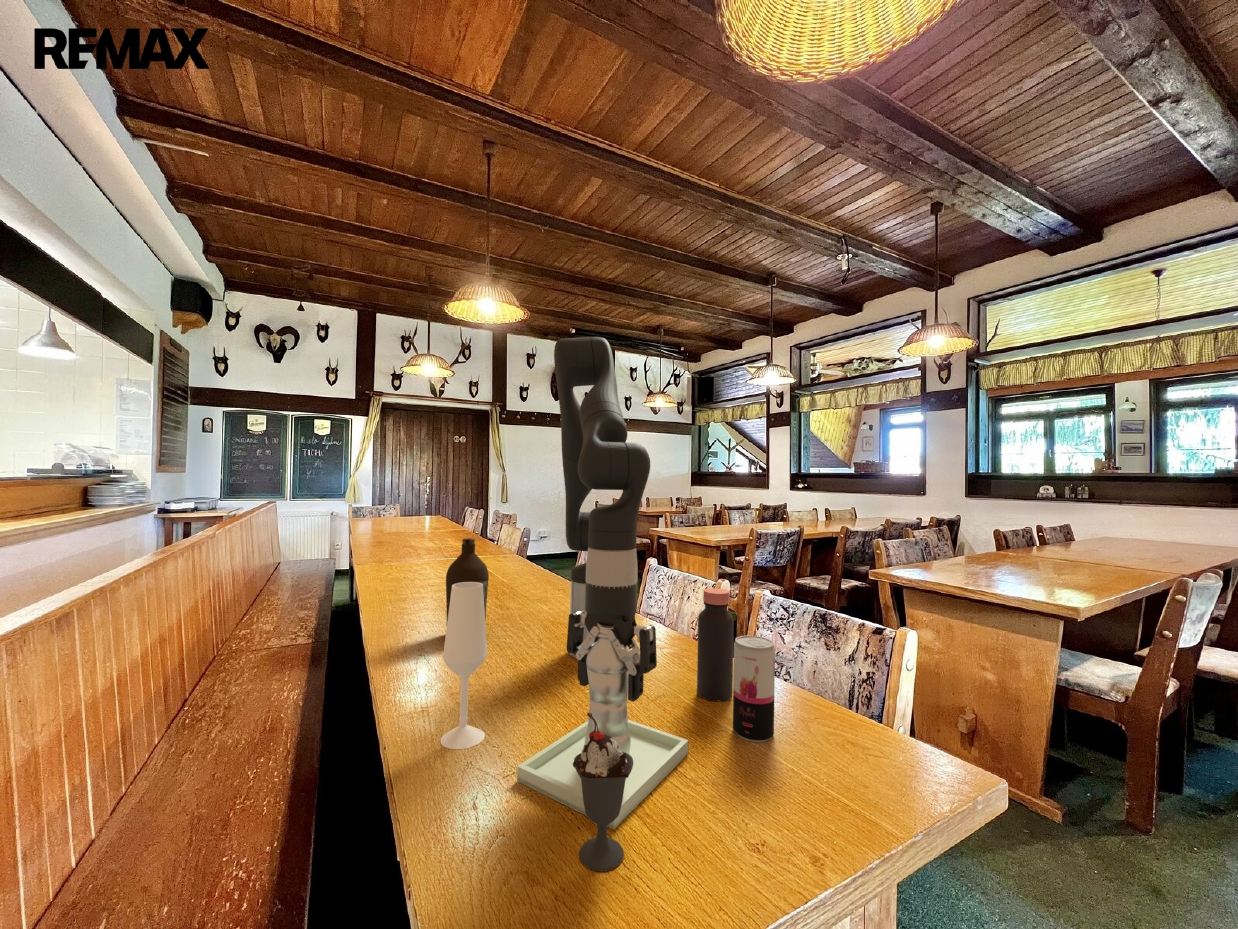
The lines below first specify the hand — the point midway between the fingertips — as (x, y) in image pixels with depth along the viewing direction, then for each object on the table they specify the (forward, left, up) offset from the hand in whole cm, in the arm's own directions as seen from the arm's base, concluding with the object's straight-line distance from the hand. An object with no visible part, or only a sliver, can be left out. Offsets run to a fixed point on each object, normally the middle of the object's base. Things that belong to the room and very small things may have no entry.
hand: (608, 691), depth 72 cm
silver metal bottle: (0, 0, -10) cm, 10 cm away
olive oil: (-26, -63, -11) cm, 69 cm away
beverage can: (-22, +14, -11) cm, 28 cm away
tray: (0, 0, -11) cm, 11 cm away
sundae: (+14, +9, -11) cm, 20 cm away
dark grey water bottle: (-32, +3, -11) cm, 34 cm away
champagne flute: (+7, -23, -11) cm, 26 cm away
